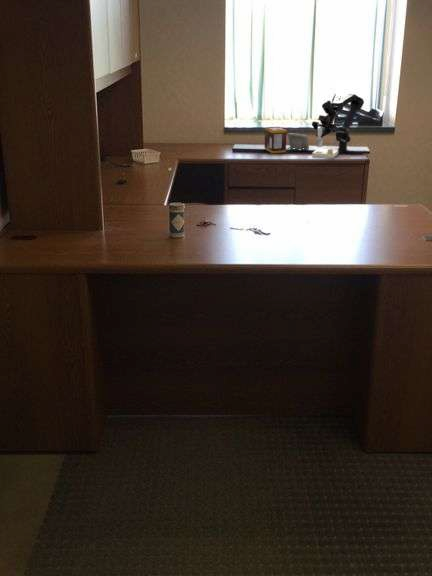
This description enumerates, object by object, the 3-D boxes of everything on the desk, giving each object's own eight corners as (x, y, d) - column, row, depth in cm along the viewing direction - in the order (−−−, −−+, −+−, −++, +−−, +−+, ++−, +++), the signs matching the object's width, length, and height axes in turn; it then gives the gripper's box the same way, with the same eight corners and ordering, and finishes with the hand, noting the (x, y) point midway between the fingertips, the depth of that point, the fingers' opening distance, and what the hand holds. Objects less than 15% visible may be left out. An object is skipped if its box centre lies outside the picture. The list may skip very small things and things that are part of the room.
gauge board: (317, 152, 441) (318, 144, 439) (338, 153, 436) (338, 146, 434) (312, 156, 428) (312, 149, 426) (333, 158, 423) (333, 150, 421)
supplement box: (277, 148, 454) (278, 126, 447) (286, 152, 440) (287, 129, 434) (264, 149, 451) (264, 127, 444) (272, 153, 437) (273, 130, 431)
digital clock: (310, 149, 449) (311, 134, 444) (301, 151, 444) (302, 136, 439) (294, 146, 460) (295, 131, 456) (285, 147, 455) (286, 132, 451)
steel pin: (316, 145, 429) (317, 126, 424) (322, 145, 428) (323, 126, 423) (316, 146, 426) (317, 127, 420) (322, 147, 425) (323, 127, 420)
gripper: (313, 109, 426) (303, 127, 424) (336, 112, 414) (325, 131, 411) (320, 119, 434) (309, 137, 432) (342, 122, 422) (331, 141, 420)
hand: (318, 136), depth 423 cm, fingers closed on steel pin, 4 cm apart
